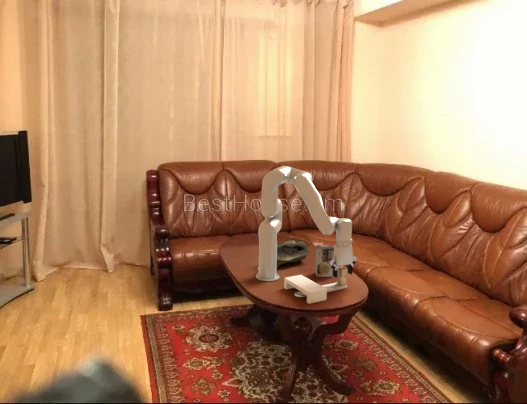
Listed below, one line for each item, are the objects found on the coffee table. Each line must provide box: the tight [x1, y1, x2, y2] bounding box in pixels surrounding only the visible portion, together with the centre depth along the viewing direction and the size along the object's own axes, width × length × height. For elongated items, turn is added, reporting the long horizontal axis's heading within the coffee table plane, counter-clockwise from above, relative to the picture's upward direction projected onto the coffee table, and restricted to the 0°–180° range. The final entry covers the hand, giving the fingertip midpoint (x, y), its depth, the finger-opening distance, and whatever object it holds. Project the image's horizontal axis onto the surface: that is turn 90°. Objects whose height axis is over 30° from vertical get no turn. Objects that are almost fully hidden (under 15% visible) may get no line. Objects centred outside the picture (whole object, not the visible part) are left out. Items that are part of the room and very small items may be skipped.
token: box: [293, 291, 307, 298], centre depth 234 cm, size 6×6×1 cm
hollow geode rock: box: [277, 238, 311, 268], centre depth 282 cm, size 28×13×15 cm
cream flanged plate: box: [283, 274, 328, 305], centre depth 235 cm, size 22×10×6 cm, turn 30°
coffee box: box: [314, 244, 334, 278], centre depth 261 cm, size 9×6×16 cm
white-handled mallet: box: [321, 266, 348, 293], centre depth 242 cm, size 6×18×10 cm, turn 119°
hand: (342, 275), depth 245 cm, fingers open, 9 cm apart
